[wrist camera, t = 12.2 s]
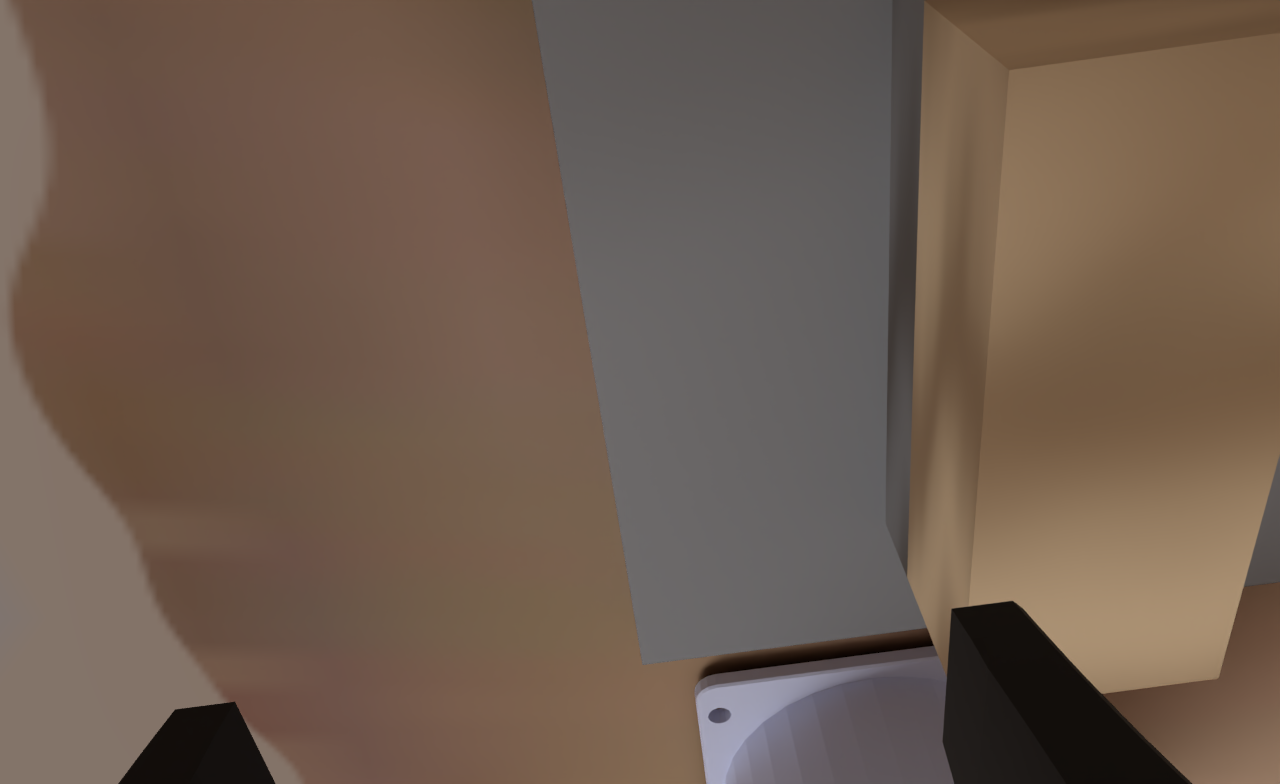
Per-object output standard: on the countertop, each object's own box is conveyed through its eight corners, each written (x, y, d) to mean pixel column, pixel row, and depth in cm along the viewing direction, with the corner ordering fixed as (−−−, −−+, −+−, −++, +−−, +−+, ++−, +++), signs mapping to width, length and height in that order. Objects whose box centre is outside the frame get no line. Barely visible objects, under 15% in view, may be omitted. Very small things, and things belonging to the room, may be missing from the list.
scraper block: (1094, 495, 20) (1217, 678, 16) (885, 523, 20) (961, 712, 16) (1181, -66, 14) (1399, 15, 11) (892, -26, 15) (1009, 70, 11)
